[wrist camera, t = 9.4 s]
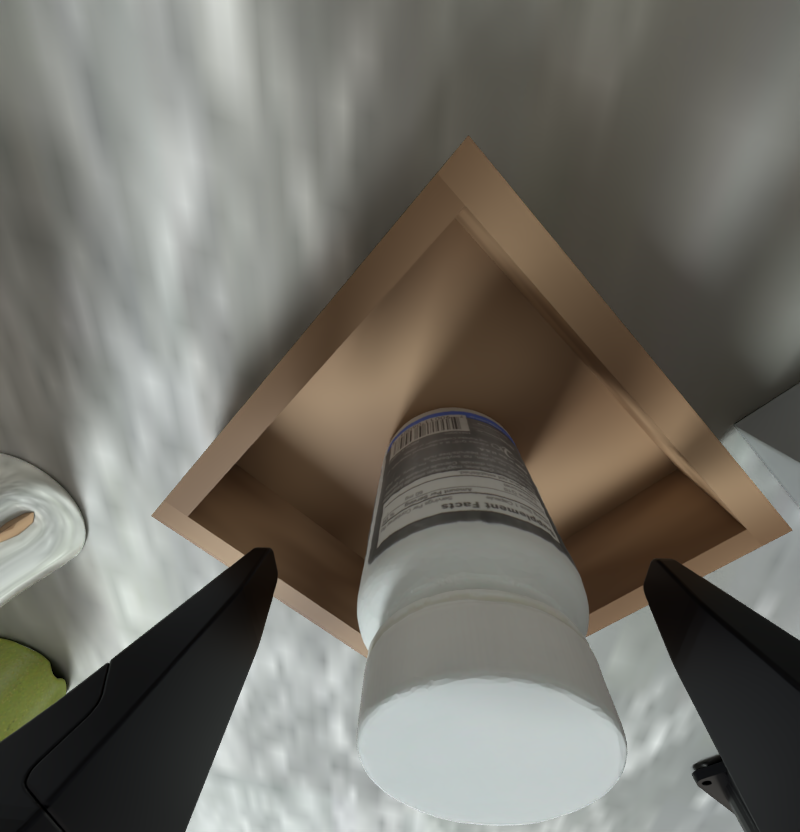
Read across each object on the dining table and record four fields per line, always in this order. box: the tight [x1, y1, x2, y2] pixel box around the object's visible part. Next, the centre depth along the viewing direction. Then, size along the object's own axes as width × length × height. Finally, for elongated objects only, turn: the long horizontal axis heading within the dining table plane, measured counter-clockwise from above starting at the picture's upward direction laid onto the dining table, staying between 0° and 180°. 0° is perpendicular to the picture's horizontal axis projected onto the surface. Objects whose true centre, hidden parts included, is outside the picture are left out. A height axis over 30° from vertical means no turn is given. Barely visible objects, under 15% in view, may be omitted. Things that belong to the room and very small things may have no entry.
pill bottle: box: [357, 407, 627, 826], centre depth 9 cm, size 5×5×8 cm
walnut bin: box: [151, 135, 792, 658], centre depth 12 cm, size 13×13×4 cm
